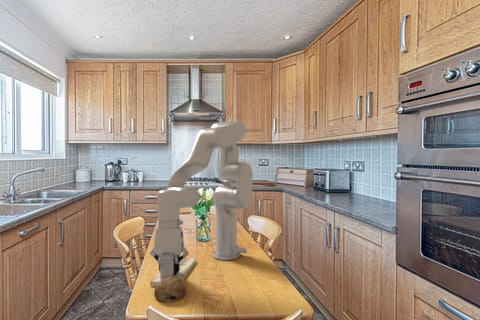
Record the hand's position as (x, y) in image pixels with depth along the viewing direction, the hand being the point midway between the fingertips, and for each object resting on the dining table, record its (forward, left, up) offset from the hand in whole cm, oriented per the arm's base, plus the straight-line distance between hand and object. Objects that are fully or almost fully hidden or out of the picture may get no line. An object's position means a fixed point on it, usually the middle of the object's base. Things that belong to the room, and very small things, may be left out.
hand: (169, 272), depth 109 cm
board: (0, -7, -3) cm, 7 cm away
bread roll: (-4, +11, -3) cm, 12 cm away
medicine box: (0, 0, -1) cm, 1 cm away
